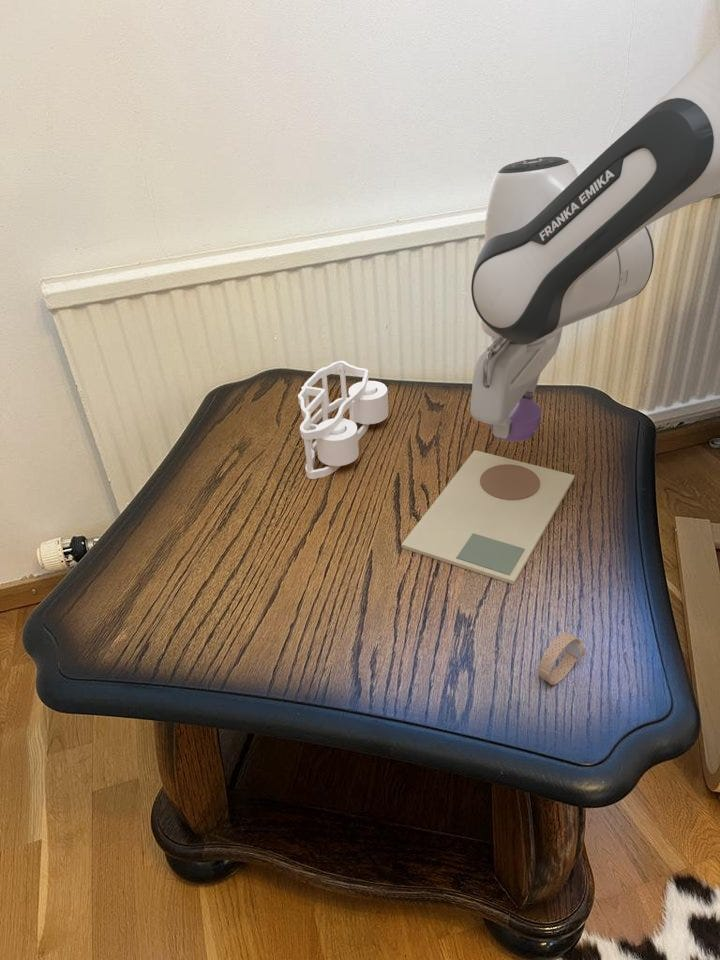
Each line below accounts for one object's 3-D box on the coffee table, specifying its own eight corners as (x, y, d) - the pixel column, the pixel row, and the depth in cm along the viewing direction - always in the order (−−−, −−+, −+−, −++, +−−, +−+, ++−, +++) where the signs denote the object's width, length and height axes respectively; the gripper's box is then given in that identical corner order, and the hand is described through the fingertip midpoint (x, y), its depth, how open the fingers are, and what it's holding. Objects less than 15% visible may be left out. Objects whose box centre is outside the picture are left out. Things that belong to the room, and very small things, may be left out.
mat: (574, 478, 99) (575, 474, 98) (514, 585, 83) (514, 580, 83) (474, 453, 105) (474, 448, 104) (401, 548, 90) (401, 543, 89)
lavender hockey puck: (546, 423, 94) (548, 402, 92) (528, 449, 90) (530, 428, 88) (497, 412, 97) (499, 392, 95) (478, 437, 92) (479, 416, 91)
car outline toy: (345, 486, 100) (341, 439, 96) (271, 470, 104) (264, 425, 100) (398, 411, 115) (397, 368, 110) (332, 400, 119) (328, 358, 114)
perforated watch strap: (582, 669, 74) (588, 634, 71) (552, 698, 71) (557, 662, 68) (559, 654, 75) (564, 619, 72) (529, 682, 73) (533, 646, 70)
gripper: (515, 357, 76) (507, 470, 84) (577, 284, 90) (565, 386, 98) (457, 345, 78) (454, 456, 86) (525, 276, 92) (518, 377, 100)
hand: (513, 418), depth 92 cm, fingers closed on lavender hockey puck, 6 cm apart
